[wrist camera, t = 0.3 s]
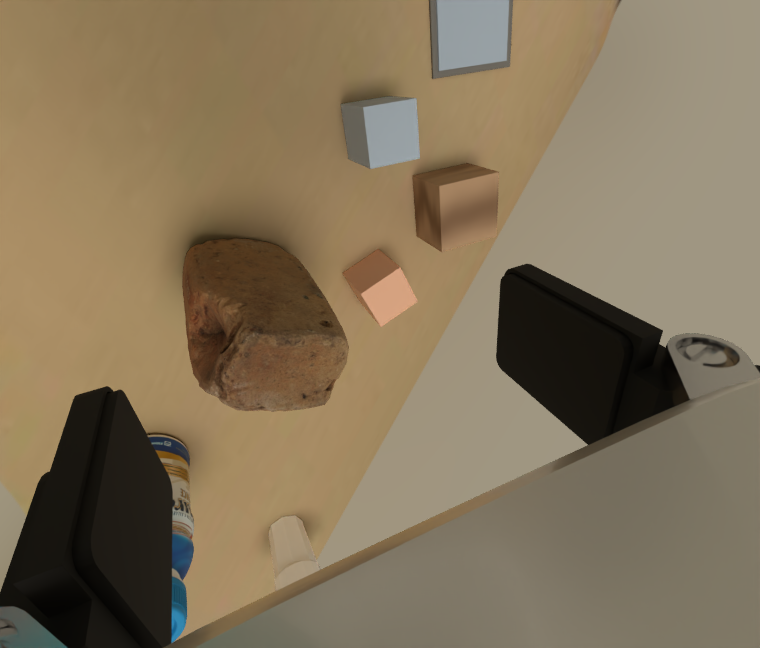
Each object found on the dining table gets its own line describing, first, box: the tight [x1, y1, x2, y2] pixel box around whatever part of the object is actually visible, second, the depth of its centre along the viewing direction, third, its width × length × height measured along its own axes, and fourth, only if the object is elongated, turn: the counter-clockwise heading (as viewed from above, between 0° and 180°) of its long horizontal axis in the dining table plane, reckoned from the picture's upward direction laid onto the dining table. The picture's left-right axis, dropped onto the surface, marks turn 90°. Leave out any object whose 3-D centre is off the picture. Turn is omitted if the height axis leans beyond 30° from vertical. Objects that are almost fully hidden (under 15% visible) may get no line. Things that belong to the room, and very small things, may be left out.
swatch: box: [429, 0, 513, 79], centre depth 41 cm, size 9×9×1 cm
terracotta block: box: [343, 249, 418, 327], centre depth 48 cm, size 5×5×6 cm
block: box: [182, 238, 349, 412], centre depth 36 cm, size 11×8×20 cm
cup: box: [268, 515, 321, 591], centre depth 61 cm, size 7×7×11 cm
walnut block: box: [413, 163, 499, 252], centre depth 47 cm, size 7×7×6 cm
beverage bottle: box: [147, 435, 194, 643], centre depth 42 cm, size 8×8×20 cm
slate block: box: [341, 96, 420, 169], centre depth 40 cm, size 5×5×6 cm
